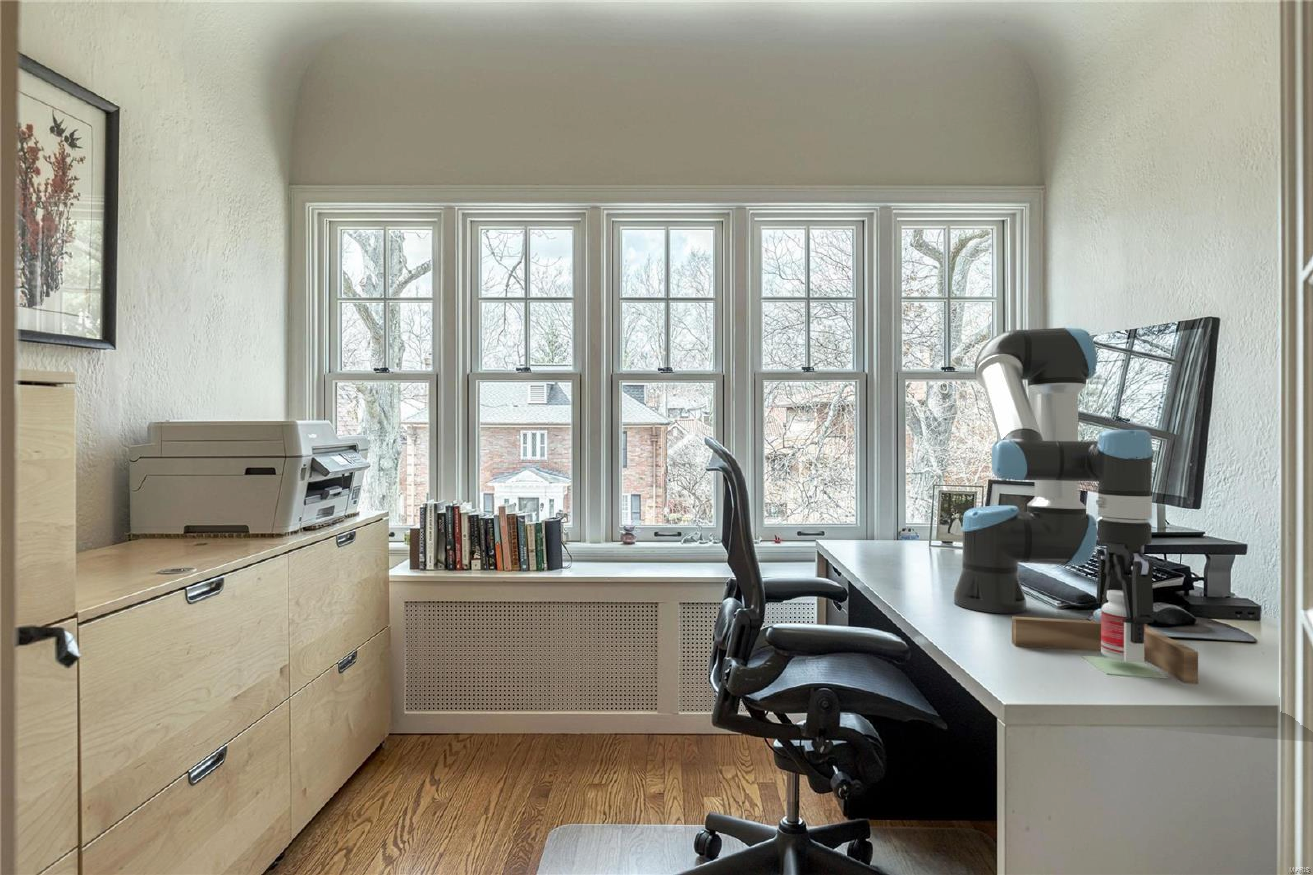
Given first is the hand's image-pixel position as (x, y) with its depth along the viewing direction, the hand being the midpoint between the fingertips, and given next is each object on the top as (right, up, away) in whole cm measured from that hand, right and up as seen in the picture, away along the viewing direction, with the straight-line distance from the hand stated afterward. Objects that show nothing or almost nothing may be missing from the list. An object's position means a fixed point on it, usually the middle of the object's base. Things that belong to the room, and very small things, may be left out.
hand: (1122, 654), depth 113 cm
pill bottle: (0, -1, 0) cm, 1 cm away
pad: (0, -2, 0) cm, 2 cm away
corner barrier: (-2, -2, +3) cm, 5 cm away
